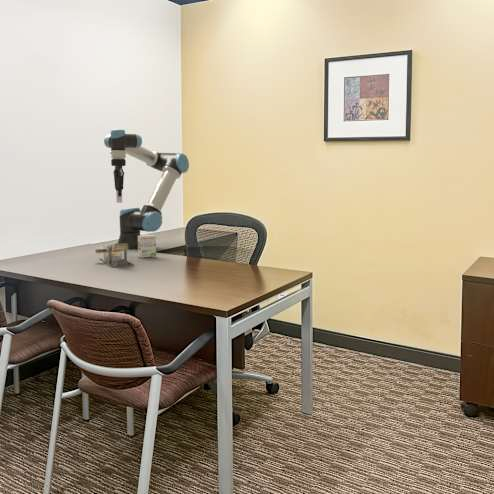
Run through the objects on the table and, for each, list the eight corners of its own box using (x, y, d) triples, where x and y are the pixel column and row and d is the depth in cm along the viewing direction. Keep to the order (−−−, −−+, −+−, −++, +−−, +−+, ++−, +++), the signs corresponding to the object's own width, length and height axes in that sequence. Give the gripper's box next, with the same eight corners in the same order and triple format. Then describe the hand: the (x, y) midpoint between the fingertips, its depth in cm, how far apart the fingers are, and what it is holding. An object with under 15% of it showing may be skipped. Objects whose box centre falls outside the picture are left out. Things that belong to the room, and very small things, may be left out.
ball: (114, 254, 294) (115, 250, 291) (115, 260, 292) (116, 255, 289) (107, 255, 292) (108, 250, 290) (108, 260, 290) (109, 256, 288)
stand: (103, 261, 285) (102, 245, 284) (124, 260, 290) (124, 244, 289) (111, 267, 270) (111, 250, 269) (134, 265, 275) (133, 248, 274)
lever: (95, 253, 284) (95, 247, 284) (118, 251, 289) (118, 245, 289) (103, 250, 268) (103, 244, 268) (128, 249, 273) (127, 243, 273)
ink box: (152, 255, 305) (152, 234, 303) (156, 257, 300) (156, 235, 299) (137, 257, 300) (137, 235, 298) (141, 258, 296) (140, 236, 294)
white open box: (116, 256, 300) (116, 245, 299) (122, 260, 291) (121, 248, 290) (99, 258, 296) (99, 246, 295) (104, 261, 287) (103, 249, 286)
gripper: (108, 158, 306) (109, 201, 309) (114, 158, 294) (115, 203, 298) (121, 158, 309) (122, 201, 313) (128, 158, 298) (129, 203, 301)
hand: (119, 202), depth 305 cm, fingers closed
